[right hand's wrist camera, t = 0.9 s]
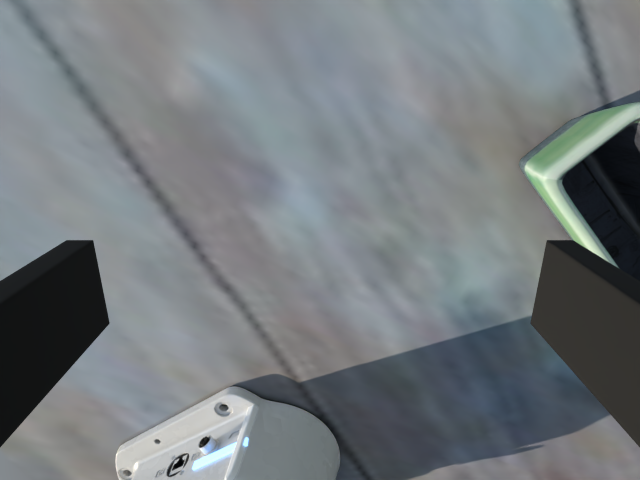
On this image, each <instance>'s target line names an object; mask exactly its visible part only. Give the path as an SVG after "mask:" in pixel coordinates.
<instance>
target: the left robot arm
mask: <svg viewBox="0 0 640 480" xmlns="http://www.w3.org/2000/svg"><path fill="white" fill-rule="evenodd" d="M222 404H226V405H227V406H224V405H222ZM339 466H340V450H339V446H338V443H337V441H336V439H335V437H334V435H333V434H332V432H331V431H330V430H329V428H328V427H327V426H326V425H325V424H324V423H323V422H322V421H320V420H319V419H318V418H317V417H315V416H314V415H312V414H310V413H309V412H307V411H305V410H303V409H300V408H298V407H295V406H292V405H288V404H284V403H279V402H274V401H269V400H265V399H262V398H260V397H258V396H257V395H255V394H253V393H251V392H250V391H248V390H246V389H243V388H240V387H236V386H233V387H228V388H226V389H224V390H222V391H221V392H219V393H217V394H215V395H213V396H211V397H209V398H207V399H206V400H204V401H202V402H200V403H198V404H196V405H194V406H193V407H191V408H189V409H187V410H185V411H183V412H181V413H180V414H178V415H176V416H174V417H172V418H170V419H168V420H166V421H165V422H163V423H161V424H159V425H157V426H155V427H153V428H152V429H150V430H148V431H146V432H144V433H142V434H140V435H139V436H137V437H135V438H133V439H131V440H129V441H127V442H126V443H124V444H122V445H121V446H120V447H119V449H118V452H117V454H116V470H117V474H118V477H119V480H336V476H337V473H338V470H339Z"/></svg>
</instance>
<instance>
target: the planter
mask: <svg viewBox="0 0 640 480" xmlns="http://www.w3.org/2000/svg"><path fill="white" fill-rule="evenodd" d="M519 166H520V168H521V171H522V172H523V173H524V175H525V176H526V178H527V179H528V181H529V182H530V184H531V185H532V186H533V188H534V189H535V190H536V192H537V193H538V195H539V196H540V197H541V199H542V200H543V201H544V203H545V204H546V205H547V207H548V208H549V210H550V211H551V212H552V214H553V215H554V216H555V218H556V219H557V220H558V222H559V223H560V224H561V226H562V227H563V229H564V230H565V231H566V233H567V234H568V235H569V237H570V238H571V239H572V240H574V241H575V242H577V243H578V244H580V245H582V246H583V247H585V248H587V249H588V250H590V251H591V252H593V253H595V254H596V255H598V256H600V257H601V258H603V259H604V260H606V261H608V262H609V263H611V264H613V265H614V266H616V267H618V268H619V269H621V270H622V271H624V272H626V273H627V274H629V275H631V276H632V277H634V278H635V279H637V280H639V281H640V102H635V103H629V104H624V105H620V106H616V107H612V108H609V109H605V110H601V111H597V112H594V113H590V114H587V115H584V116H580V117H577V118H574V119H572V120H570V121H568V122H567V123H566V124H564V125H563V126H562V127H561V128H559V129H558V130H557V131H555V132H554V133H553V134H552V135H550V136H549V137H548V138H546V139H545V140H544V141H543V142H541V143H540V144H539V145H538V146H536V147H535V148H534V149H532V150H531V151H530V152H529V153H527V154H526V155H525V156H524V157H523V158H522V159H521V160H520V162H519Z"/></svg>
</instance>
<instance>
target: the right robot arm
mask: <svg viewBox="0 0 640 480" xmlns="http://www.w3.org/2000/svg"><path fill="white" fill-rule="evenodd" d="M108 324H109V319H108V313H107V308H106V303H105V298H104V293H103V288H102V283H101V278H100V273H99V268H98V263H97V258H96V253H95V248H94V243H93V240H66V241H65V242H63V243H62V244H60V245H58V246H57V247H55V248H53V249H52V250H50V251H49V252H47V253H45V254H44V255H42V256H40V257H39V258H37V259H36V260H34V261H32V262H31V263H29V264H27V265H26V266H24V267H22V268H21V269H19V270H18V271H16V272H14V273H13V274H11V275H9V276H8V277H6V278H5V279H3V280H1V281H0V447H1V446H2V445H3V444H4V442H5V441H6V440H7V439H8V438H9V437H10V436H11V434H12V433H13V432H14V431H15V430H16V429H17V428H18V427H19V425H20V424H21V423H22V422H23V421H24V420H25V419H26V417H27V416H28V415H29V414H30V413H31V412H32V411H33V410H34V408H35V407H36V406H37V405H38V404H39V403H40V402H41V400H42V399H43V398H44V397H45V396H46V395H47V394H48V393H49V391H50V390H51V389H52V388H53V387H54V386H55V385H56V383H57V382H58V381H59V380H60V379H61V378H62V377H63V376H64V374H65V373H66V372H67V371H68V370H69V369H70V368H71V366H72V365H73V364H74V363H75V362H76V361H77V360H78V358H79V357H80V356H81V355H82V354H83V353H84V352H85V351H86V349H87V348H88V347H89V346H90V345H91V344H92V343H93V341H94V340H95V339H96V338H97V337H98V336H99V335H100V334H101V332H102V331H103V330H104V329H105V328H106V327H107V326H108ZM531 324H532V326H533V327H534V328H535V329H536V330H537V331H538V332H539V334H540V335H541V336H542V337H543V338H544V339H545V340H546V341H547V343H548V344H549V345H550V346H551V347H552V348H553V349H554V351H555V352H556V353H557V354H558V355H559V356H560V357H561V358H562V360H563V361H564V362H565V363H566V364H567V365H568V366H569V368H570V369H571V370H572V371H573V372H574V373H575V374H576V376H577V377H578V378H579V379H580V380H581V381H582V382H583V383H584V385H585V386H586V387H587V388H588V389H589V390H590V391H591V393H592V394H593V395H594V396H595V397H596V398H597V399H598V400H599V402H600V403H601V404H602V405H603V406H604V407H605V408H606V410H607V411H608V412H609V413H610V414H611V415H612V416H613V417H614V419H615V420H616V421H617V422H618V423H619V424H620V425H621V427H622V428H623V429H624V430H625V431H626V432H627V433H628V434H629V436H630V437H631V438H632V439H633V440H634V441H635V442H636V444H637V445H638V446H639V447H640V281H639V280H637V279H635V278H634V277H632V276H631V275H629V274H627V273H626V272H624V271H622V270H621V269H619V268H618V267H616V266H614V265H613V264H611V263H609V262H608V261H606V260H604V259H603V258H601V257H600V256H598V255H596V254H595V253H593V252H591V251H590V250H588V249H587V248H585V247H583V246H582V245H580V244H578V243H577V242H575V241H574V240H547V243H546V248H545V253H544V258H543V263H542V268H541V273H540V278H539V283H538V288H537V293H536V298H535V303H534V308H533V313H532V319H531Z"/></svg>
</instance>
